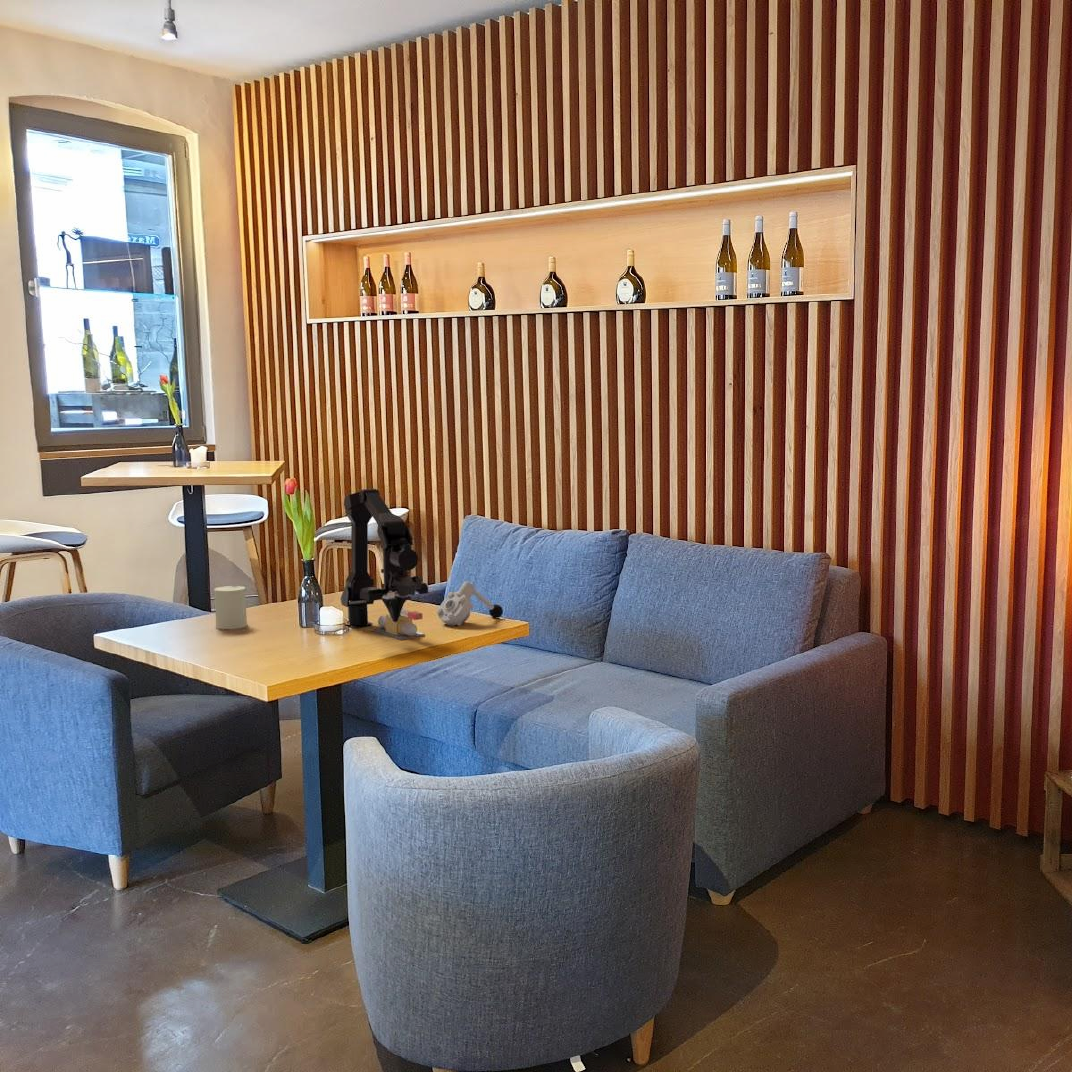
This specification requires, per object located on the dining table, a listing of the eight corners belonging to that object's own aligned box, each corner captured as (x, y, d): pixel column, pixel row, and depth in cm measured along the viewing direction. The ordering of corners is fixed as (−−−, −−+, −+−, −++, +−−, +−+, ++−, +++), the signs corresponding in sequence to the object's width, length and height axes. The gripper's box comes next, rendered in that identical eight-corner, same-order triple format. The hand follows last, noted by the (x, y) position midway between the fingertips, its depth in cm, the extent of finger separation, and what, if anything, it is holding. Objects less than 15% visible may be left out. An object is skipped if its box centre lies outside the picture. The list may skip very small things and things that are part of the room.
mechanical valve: (430, 614, 337) (458, 573, 341) (467, 645, 347) (494, 605, 351) (448, 622, 329) (477, 580, 333) (486, 653, 339) (513, 613, 343)
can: (252, 623, 340) (250, 584, 339) (239, 630, 331) (237, 589, 330) (224, 623, 342) (222, 583, 340) (210, 629, 333) (208, 589, 331)
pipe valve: (370, 630, 328) (370, 610, 327) (394, 626, 333) (394, 606, 332) (400, 640, 315) (399, 619, 314) (424, 636, 320) (424, 615, 319)
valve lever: (392, 613, 323) (392, 607, 322) (400, 612, 324) (400, 606, 324) (414, 620, 312) (414, 614, 312) (422, 618, 314) (422, 613, 314)
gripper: (378, 572, 297) (380, 630, 299) (438, 565, 308) (439, 621, 310) (358, 567, 306) (359, 624, 308) (417, 561, 317) (418, 615, 319)
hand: (395, 621), depth 311 cm, fingers closed
